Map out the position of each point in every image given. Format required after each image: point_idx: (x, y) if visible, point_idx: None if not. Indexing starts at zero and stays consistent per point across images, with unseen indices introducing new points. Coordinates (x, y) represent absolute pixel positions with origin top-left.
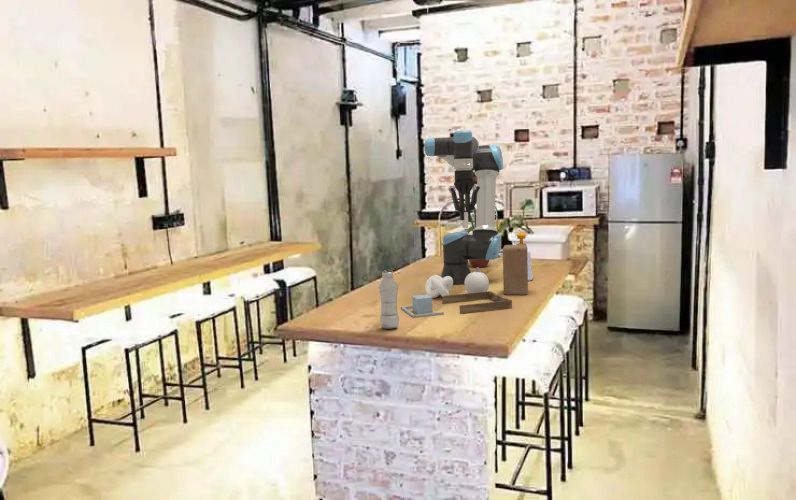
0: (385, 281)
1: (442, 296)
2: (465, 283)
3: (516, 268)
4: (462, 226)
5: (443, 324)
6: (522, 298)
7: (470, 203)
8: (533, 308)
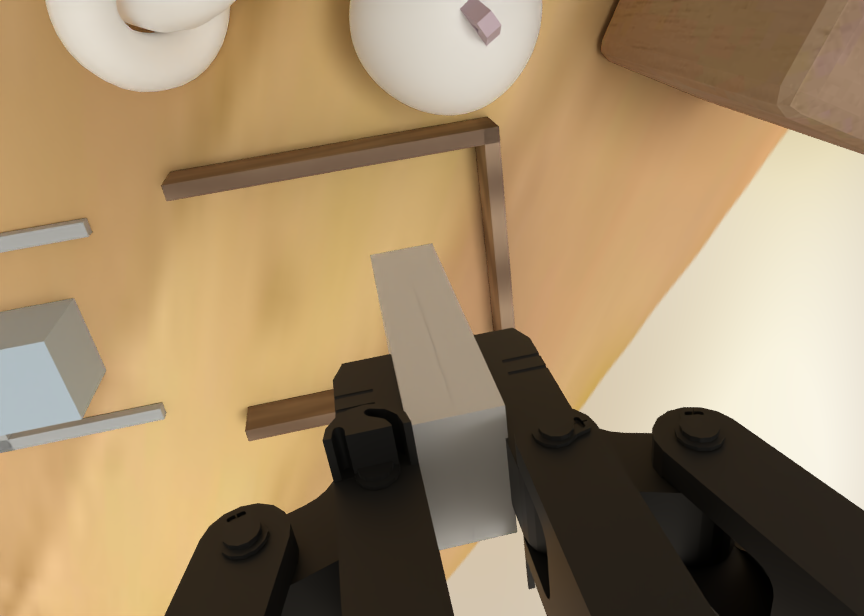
0: None
1: (163, 189)
2: (353, 41)
3: (759, 115)
4: (373, 269)
5: (157, 552)
6: (646, 175)
7: (776, 563)
8: (591, 384)
